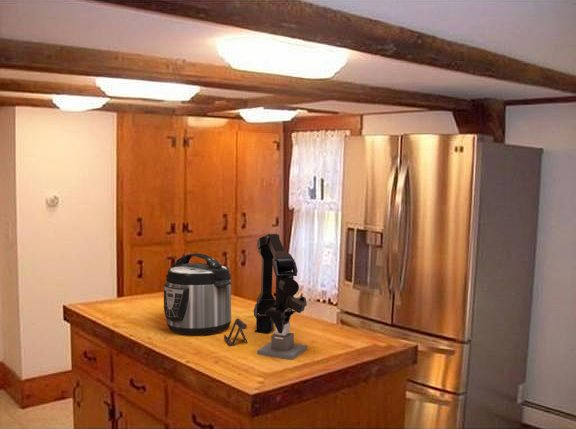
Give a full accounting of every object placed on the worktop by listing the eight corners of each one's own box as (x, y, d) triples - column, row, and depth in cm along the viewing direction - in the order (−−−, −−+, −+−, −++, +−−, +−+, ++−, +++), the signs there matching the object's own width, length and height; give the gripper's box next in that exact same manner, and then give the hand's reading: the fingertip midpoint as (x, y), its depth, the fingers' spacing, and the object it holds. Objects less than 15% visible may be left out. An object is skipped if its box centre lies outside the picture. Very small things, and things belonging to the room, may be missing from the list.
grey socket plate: (257, 354, 214) (257, 336, 213) (273, 344, 227) (273, 327, 226) (292, 359, 208) (292, 341, 208) (306, 349, 221) (307, 332, 221)
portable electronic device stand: (223, 340, 231) (223, 319, 231) (242, 338, 234) (243, 317, 233) (229, 346, 223) (229, 324, 222) (249, 344, 226) (249, 323, 225)
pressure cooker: (160, 321, 258) (160, 249, 255) (223, 317, 266) (224, 248, 264) (167, 340, 229) (167, 260, 227) (237, 335, 238) (238, 258, 235)
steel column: (275, 348, 216) (275, 323, 216) (279, 345, 220) (280, 320, 219) (285, 349, 215) (285, 324, 214) (289, 346, 218) (290, 321, 218)
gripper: (293, 297, 204) (292, 341, 205) (312, 287, 221) (312, 328, 222) (264, 294, 208) (264, 337, 210) (285, 284, 225) (285, 324, 227)
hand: (282, 331), depth 217 cm, fingers closed on steel column, 4 cm apart
